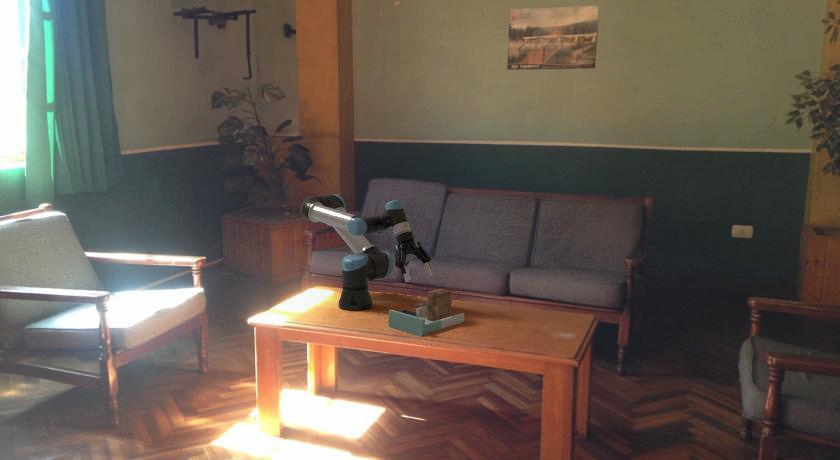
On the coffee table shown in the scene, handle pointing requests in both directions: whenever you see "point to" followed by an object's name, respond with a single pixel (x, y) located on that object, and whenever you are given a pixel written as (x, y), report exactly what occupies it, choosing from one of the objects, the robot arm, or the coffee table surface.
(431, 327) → the teal and white tray
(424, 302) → the decorative key
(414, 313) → the tray
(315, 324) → the coffee table surface
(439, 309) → the walnut block
